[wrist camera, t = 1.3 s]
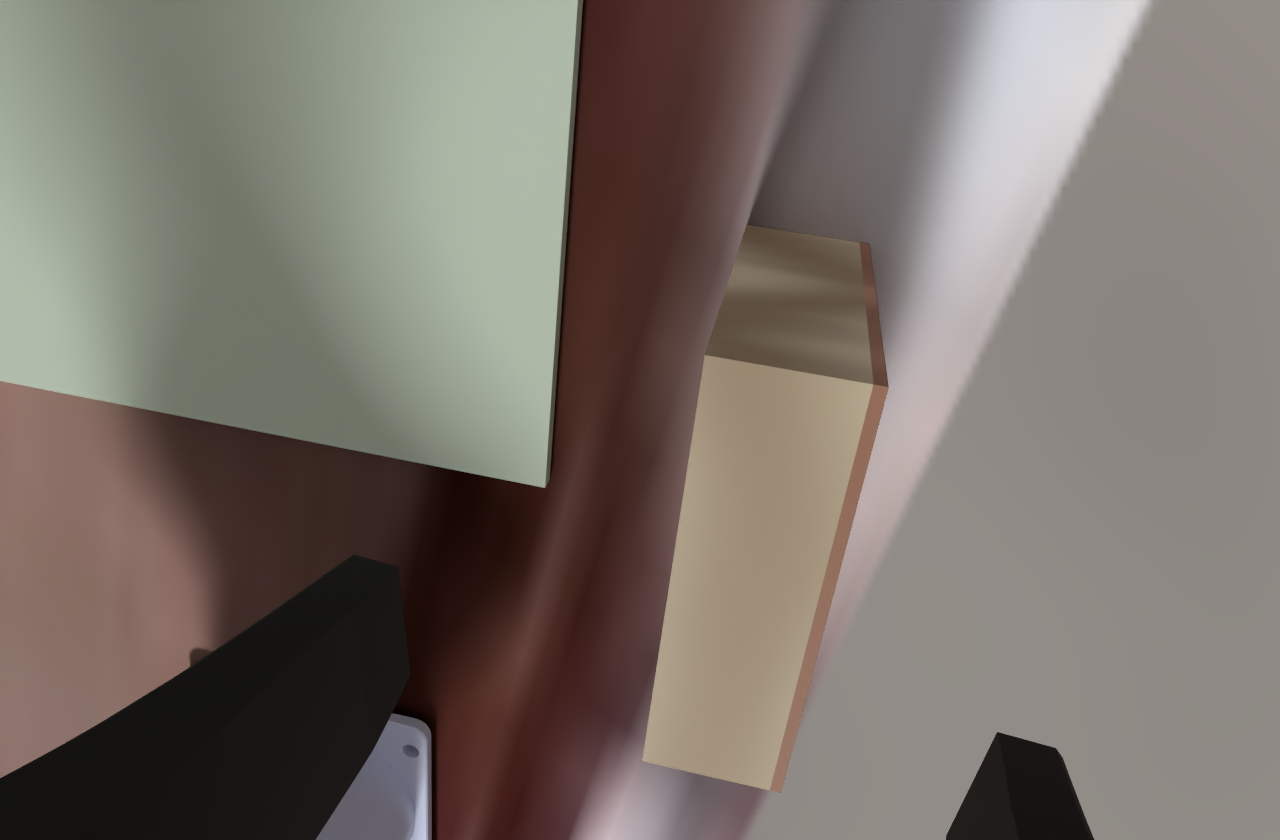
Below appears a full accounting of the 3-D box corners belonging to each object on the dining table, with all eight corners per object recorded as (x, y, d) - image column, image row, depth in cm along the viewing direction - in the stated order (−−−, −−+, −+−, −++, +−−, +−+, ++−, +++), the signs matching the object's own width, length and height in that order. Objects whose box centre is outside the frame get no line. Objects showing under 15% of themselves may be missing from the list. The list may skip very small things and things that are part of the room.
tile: (869, 243, 18) (888, 387, 12) (795, 560, 22) (781, 793, 16) (747, 224, 18) (704, 354, 12) (694, 540, 22) (642, 761, 16)
